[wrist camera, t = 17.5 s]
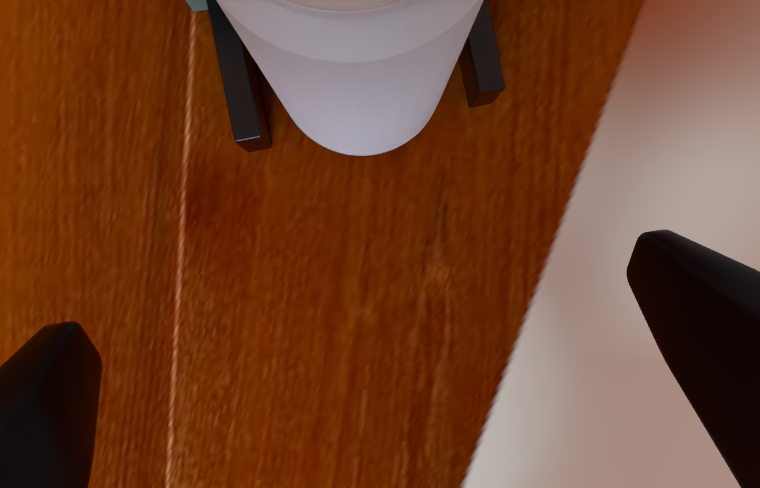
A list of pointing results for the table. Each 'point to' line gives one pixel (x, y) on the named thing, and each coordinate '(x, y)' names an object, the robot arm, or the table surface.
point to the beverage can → (355, 63)
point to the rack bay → (244, 86)
